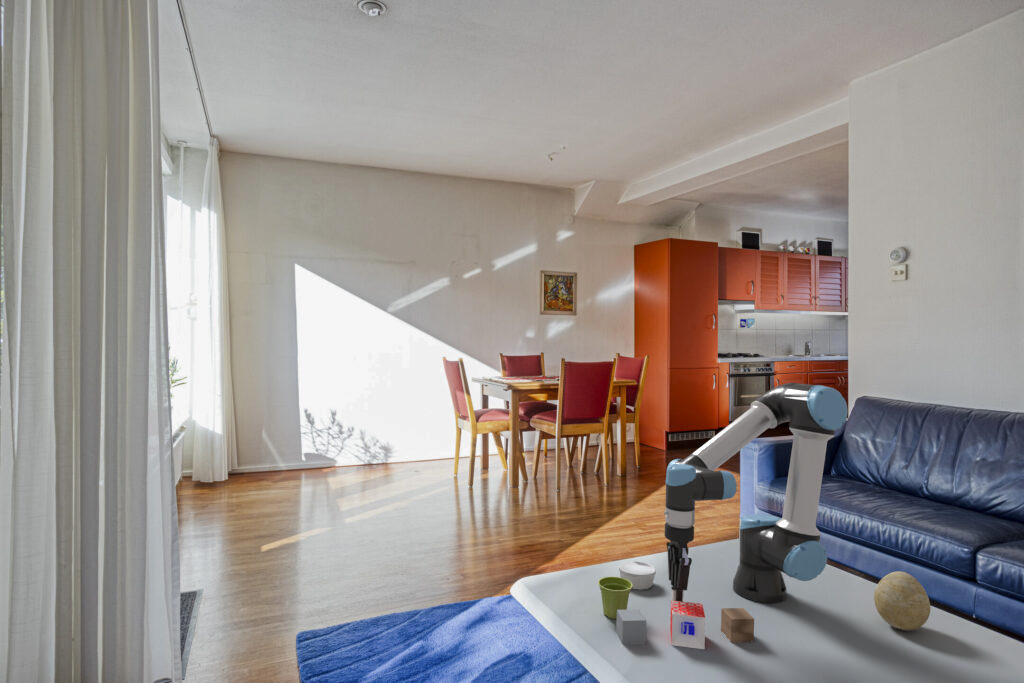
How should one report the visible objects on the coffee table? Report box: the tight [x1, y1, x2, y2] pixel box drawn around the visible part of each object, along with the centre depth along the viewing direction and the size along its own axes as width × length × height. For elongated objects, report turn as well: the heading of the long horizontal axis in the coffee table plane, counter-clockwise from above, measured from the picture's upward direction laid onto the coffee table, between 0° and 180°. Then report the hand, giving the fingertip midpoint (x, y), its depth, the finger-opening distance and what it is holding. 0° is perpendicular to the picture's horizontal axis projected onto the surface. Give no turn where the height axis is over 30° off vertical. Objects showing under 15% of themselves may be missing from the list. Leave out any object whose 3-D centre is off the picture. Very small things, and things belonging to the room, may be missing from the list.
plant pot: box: [597, 576, 633, 620], centre depth 166 cm, size 9×9×9 cm
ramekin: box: [618, 560, 657, 591], centre depth 186 cm, size 11×11×5 cm
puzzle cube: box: [669, 600, 706, 650], centre depth 152 cm, size 8×8×8 cm
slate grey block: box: [615, 609, 647, 645], centre depth 153 cm, size 6×6×6 cm
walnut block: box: [720, 607, 755, 643], centre depth 155 cm, size 6×6×6 cm
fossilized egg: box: [873, 570, 931, 631], centre depth 161 cm, size 13×13×15 cm
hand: (676, 612), depth 159 cm, fingers closed
